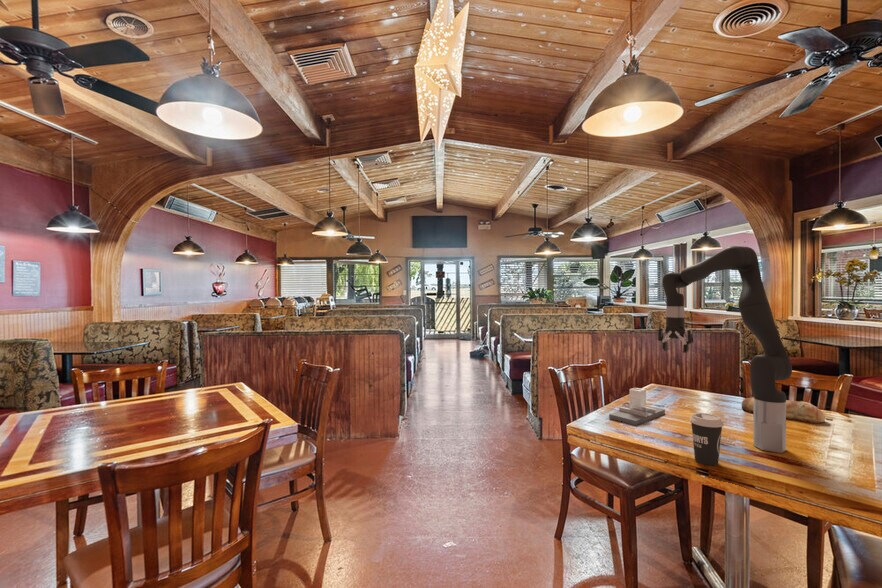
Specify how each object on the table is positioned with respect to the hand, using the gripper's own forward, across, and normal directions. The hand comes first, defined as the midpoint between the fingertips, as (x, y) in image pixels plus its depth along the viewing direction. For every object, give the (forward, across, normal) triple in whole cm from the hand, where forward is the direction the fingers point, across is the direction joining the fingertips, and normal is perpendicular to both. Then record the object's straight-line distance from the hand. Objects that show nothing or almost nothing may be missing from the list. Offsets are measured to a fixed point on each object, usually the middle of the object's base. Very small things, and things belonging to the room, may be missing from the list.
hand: (675, 351), depth 193 cm
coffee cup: (+28, +31, -49) cm, 64 cm away
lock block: (+26, -8, -18) cm, 33 cm away
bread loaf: (+29, +31, +32) cm, 53 cm away
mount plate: (+28, -8, -18) cm, 34 cm away
